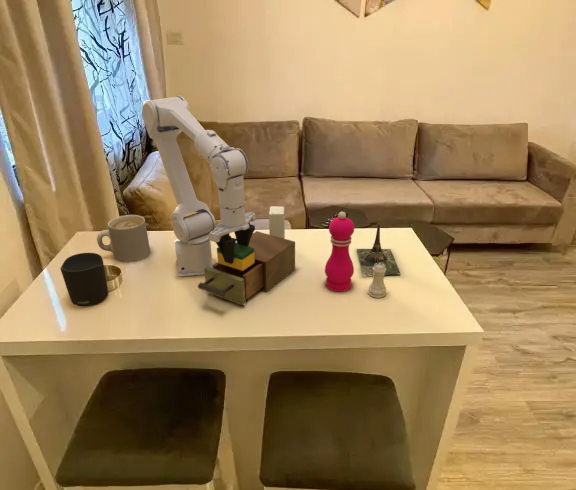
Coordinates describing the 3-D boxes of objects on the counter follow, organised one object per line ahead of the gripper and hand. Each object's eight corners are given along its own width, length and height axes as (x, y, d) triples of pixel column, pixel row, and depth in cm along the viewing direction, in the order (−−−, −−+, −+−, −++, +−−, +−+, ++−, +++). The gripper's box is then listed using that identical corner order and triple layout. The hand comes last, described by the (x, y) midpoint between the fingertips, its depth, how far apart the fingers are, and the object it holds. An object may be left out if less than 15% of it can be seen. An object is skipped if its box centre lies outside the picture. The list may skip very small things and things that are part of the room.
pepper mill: (356, 281, 124) (361, 209, 114) (347, 295, 118) (352, 220, 108) (330, 275, 127) (333, 204, 117) (320, 288, 121) (322, 214, 111)
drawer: (230, 315, 110) (228, 290, 106) (193, 301, 115) (190, 276, 112) (272, 282, 122) (271, 259, 119) (237, 271, 127) (235, 248, 124)
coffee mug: (152, 245, 143) (146, 213, 138) (148, 260, 134) (142, 228, 129) (105, 248, 141) (98, 216, 137) (98, 264, 133) (91, 231, 128)
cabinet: (266, 292, 120) (265, 262, 116) (227, 278, 126) (225, 249, 121) (295, 269, 130) (295, 241, 125) (257, 258, 135) (256, 231, 131)
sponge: (242, 271, 112) (241, 255, 111) (217, 263, 116) (216, 248, 114) (254, 262, 116) (254, 248, 114) (230, 255, 120) (229, 240, 118)
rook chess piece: (387, 290, 120) (390, 262, 116) (384, 299, 116) (387, 271, 112) (369, 287, 121) (372, 259, 117) (366, 296, 118) (368, 268, 114)
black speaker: (61, 300, 117) (51, 264, 112) (94, 284, 124) (86, 249, 119) (85, 312, 112) (75, 275, 107) (118, 294, 119) (110, 259, 114)
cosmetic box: (284, 253, 138) (284, 214, 132) (269, 253, 138) (268, 214, 132) (285, 243, 143) (284, 205, 137) (270, 243, 143) (269, 205, 138)
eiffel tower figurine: (401, 276, 126) (407, 229, 119) (362, 276, 126) (366, 230, 119) (390, 250, 139) (395, 207, 133) (355, 250, 139) (358, 207, 132)
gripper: (225, 219, 101) (230, 275, 108) (265, 198, 112) (266, 250, 119) (200, 212, 105) (206, 266, 111) (241, 192, 115) (244, 243, 122)
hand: (235, 257), depth 115 cm, fingers closed on sponge, 5 cm apart
